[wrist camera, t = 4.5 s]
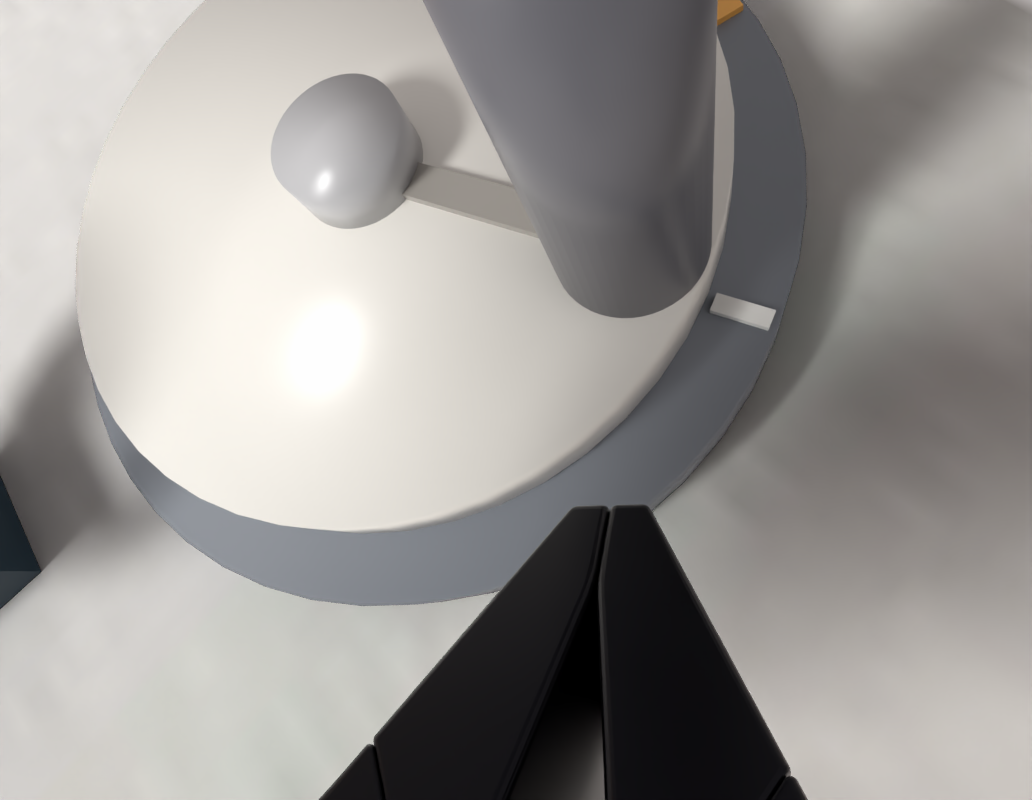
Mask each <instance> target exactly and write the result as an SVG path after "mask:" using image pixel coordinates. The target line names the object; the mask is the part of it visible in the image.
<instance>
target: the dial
mask: <svg viewBox="0 0 1032 800" xmlns="http://www.w3.org/2000/svg"><path fill="white" fill-rule="evenodd" d="M717 4H718V0H205V1H204V2H203V3H202V4H201V5H200V6H199V7H198V8H197V9H196V10H195V11H194V12H193V13H192V14H191V15H190V16H189V17H188V18H187V19H186V20H185V21H184V22H183V24H182V25H181V26H180V27H179V28H178V29H177V30H176V32H175V33H174V34H173V35H172V36H171V37H170V38H169V39H168V41H167V42H166V43H165V44H164V46H163V47H162V48H161V50H160V51H159V52H158V54H157V55H156V56H155V58H154V59H153V60H152V62H151V63H150V64H149V66H148V67H147V68H146V70H145V71H144V72H143V74H142V75H141V77H140V79H139V80H138V82H137V84H136V85H135V87H134V88H133V90H132V92H131V93H130V95H129V97H128V98H127V100H126V102H125V103H124V105H123V106H122V108H121V110H120V113H119V115H118V117H117V119H116V121H115V123H114V125H113V127H112V129H111V131H110V133H109V135H108V137H107V139H106V141H105V144H104V146H103V149H102V151H101V154H100V157H99V159H98V162H97V164H96V167H95V170H94V172H93V175H92V178H91V182H90V186H89V190H88V193H87V197H86V201H85V204H84V208H83V212H82V218H81V224H80V231H79V237H78V243H77V254H76V276H75V289H76V302H77V315H78V323H79V328H80V332H81V337H82V342H83V347H84V351H85V356H86V359H87V361H88V364H89V367H90V369H91V372H92V375H93V378H94V380H95V383H96V386H97V389H98V391H99V393H100V394H101V396H102V398H103V400H104V402H105V403H106V405H107V407H108V409H109V411H110V413H111V414H112V416H113V418H114V420H115V422H116V423H117V424H118V426H119V427H120V428H121V429H122V431H123V432H124V433H125V434H126V436H127V437H128V438H129V440H130V441H131V442H132V443H133V445H134V446H135V447H136V449H137V450H138V451H139V452H140V453H141V454H142V455H143V456H144V457H145V458H147V459H148V460H149V461H150V462H151V463H152V464H153V465H154V466H155V467H156V468H157V469H159V470H160V471H161V472H162V473H163V474H164V475H165V476H166V477H168V478H169V479H171V480H172V481H174V482H175V483H177V484H178V485H180V486H182V487H183V488H185V489H186V490H188V491H189V492H191V493H192V494H194V495H195V496H197V497H199V498H200V499H203V500H205V501H207V502H210V503H212V504H214V505H216V506H219V507H221V508H223V509H226V510H228V511H230V512H233V513H235V514H237V515H241V516H245V517H249V518H253V519H257V520H261V521H265V522H269V523H273V524H277V525H283V526H291V527H300V528H308V529H317V530H327V531H338V532H350V533H361V534H367V533H383V532H400V531H411V530H415V529H420V528H425V527H430V526H435V525H440V524H444V523H449V522H454V521H457V520H460V519H463V518H465V517H468V516H471V515H474V514H477V513H480V512H482V511H485V510H488V509H491V508H494V507H496V506H499V505H501V504H503V503H505V502H507V501H509V500H511V499H513V498H515V497H517V496H519V495H521V494H523V493H525V492H527V491H529V490H531V489H533V488H535V487H537V486H539V485H541V484H543V483H544V482H546V481H547V480H549V479H550V478H552V477H553V476H555V475H556V474H558V473H559V472H561V471H562V470H563V469H565V468H566V467H568V466H569V465H571V464H572V463H574V462H575V461H577V460H578V459H579V458H581V457H582V456H584V455H585V454H587V453H588V452H589V451H590V450H591V449H592V448H593V447H595V446H596V445H597V444H598V443H599V442H600V441H601V440H602V439H603V438H605V437H606V436H607V435H608V434H609V433H610V432H611V431H612V430H614V429H615V428H616V427H617V426H618V425H619V424H620V423H621V422H622V421H624V420H625V419H626V418H627V416H628V415H629V414H630V413H631V412H632V411H633V410H634V408H635V407H636V406H637V405H638V404H639V403H640V401H641V400H642V399H643V398H644V397H645V396H646V394H647V393H648V392H649V391H650V390H651V389H652V387H653V386H654V385H655V384H656V383H657V382H658V381H659V379H660V378H661V376H662V375H663V373H664V372H665V370H666V369H667V367H668V366H669V364H670V363H671V361H672V360H673V358H674V356H675V355H676V353H677V352H678V350H679V349H680V347H681V346H682V344H683V343H684V341H685V340H686V338H687V337H688V334H689V332H690V330H691V328H692V326H693V324H694V322H695V320H696V318H697V316H698V314H699V312H700V309H701V307H702V305H703V303H704V301H705V299H706V297H707V295H708V293H709V290H710V287H711V284H712V281H713V277H714V274H715V271H716V268H717V265H718V262H719V259H720V255H721V252H722V249H723V245H724V239H725V233H726V227H727V221H728V215H729V209H730V203H731V192H732V178H733V164H734V105H733V99H732V92H731V85H730V79H729V72H728V66H727V63H726V60H725V57H724V54H723V51H722V48H721V45H720V42H719V39H718V36H717Z"/></svg>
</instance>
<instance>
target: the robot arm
mask: <svg viewBox="0 0 1032 800" xmlns="http://www.w3.org/2000/svg"><path fill="white" fill-rule="evenodd" d="M319 800H808V799H807V798H806V796H805V794H804V792H803V790H802V788H801V786H800V785H799V783H798V781H797V779H796V778H794V777H792V776H791V771H790V767H789V765H788V763H787V761H786V760H785V758H784V756H783V754H782V752H781V750H780V748H779V747H778V745H777V743H776V741H775V739H774V737H773V735H772V734H771V732H770V730H769V728H768V726H767V724H766V723H765V721H764V719H763V717H762V715H761V713H760V711H759V710H758V708H757V706H756V704H755V702H754V700H753V698H752V697H751V695H750V693H749V691H748V689H747V687H746V685H745V684H744V682H743V680H742V678H741V676H740V674H739V672H738V671H737V669H736V667H735V665H734V663H733V661H732V659H731V658H730V656H729V654H728V652H727V650H726V648H725V646H724V645H723V643H722V641H721V639H720V637H719V635H718V633H717V632H716V630H715V628H714V626H713V624H712V622H711V620H710V619H709V617H708V615H707V613H706V611H705V609H704V607H703V606H702V604H701V602H700V600H699V598H698V596H697V594H696V593H695V591H694V589H693V587H692V585H691V583H690V581H689V580H688V578H687V576H686V574H685V572H684V570H683V568H682V567H681V565H680V563H679V561H678V559H677V557H676V555H675V554H674V552H673V550H672V548H671V546H670V544H669V542H668V541H667V539H666V537H665V535H664V533H663V531H662V529H661V528H660V526H659V524H658V522H657V520H656V518H655V516H654V515H653V513H652V511H651V509H650V508H649V507H648V506H647V505H645V504H629V505H614V506H613V507H612V508H611V509H610V510H609V508H608V507H607V506H605V505H590V506H575V507H573V508H571V509H570V510H569V511H568V512H567V513H566V514H565V516H564V517H563V518H562V519H561V520H560V521H559V522H558V524H557V525H556V526H555V527H554V528H553V529H552V531H551V532H550V533H549V534H548V535H547V536H546V538H545V539H544V540H543V541H542V542H541V543H540V545H539V546H538V547H537V548H536V549H535V550H534V552H533V553H532V554H531V555H530V556H529V557H528V559H527V560H526V561H525V562H524V563H523V564H522V566H521V567H520V568H519V569H518V570H517V571H516V572H515V574H514V575H513V576H512V577H511V578H510V579H509V581H508V582H507V583H506V584H505V585H504V586H503V588H502V589H501V590H500V591H499V592H498V593H497V595H496V596H495V597H494V598H493V599H492V600H491V602H490V603H489V604H488V605H487V606H486V607H485V609H484V610H483V611H482V612H481V613H480V614H479V616H478V617H477V618H476V619H475V620H474V621H473V623H472V624H471V625H470V626H469V627H468V628H467V629H466V631H465V632H464V633H463V634H462V635H461V636H460V638H459V639H458V640H457V641H456V642H455V643H454V645H453V646H452V647H451V648H450V649H449V650H448V652H447V653H446V654H445V655H444V656H443V657H442V659H441V660H440V661H439V662H438V663H437V664H436V666H435V667H434V668H433V669H432V670H431V671H430V673H429V674H428V675H427V676H426V677H425V678H424V679H423V681H422V682H421V683H420V684H419V685H418V686H417V688H416V689H415V690H414V691H413V692H412V693H411V695H410V696H409V697H408V698H407V699H406V700H405V702H404V703H403V704H402V705H401V706H400V707H399V709H398V710H397V711H396V712H395V713H394V714H393V716H392V717H391V718H390V719H389V720H388V721H387V723H386V724H385V725H384V726H383V727H382V728H381V729H380V731H379V732H378V733H377V734H376V735H375V737H374V745H372V744H368V745H366V746H365V748H364V749H363V750H362V751H361V752H360V753H359V755H358V756H357V757H356V758H355V759H354V760H353V762H352V763H351V764H350V765H349V766H348V767H347V769H346V770H345V771H344V772H343V773H342V774H341V775H340V777H339V778H338V779H337V780H336V781H335V782H334V783H333V785H332V786H331V787H330V788H329V789H328V790H327V791H326V792H325V793H324V794H323V796H322V797H321V798H320V799H319Z"/></svg>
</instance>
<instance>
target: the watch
mask: <svg viewBox="0 0 1032 800" xmlns="http://www.w3.org/2000/svg"><path fill="white" fill-rule="evenodd" d="M40 572H41V570H40V568H39V565H38V563H37V561H36V558H35V556H34V554H33V551H32V549H31V547H30V544H29V542H28V540H27V537H26V535H25V533H24V530H23V528H22V526H21V523H20V521H19V519H18V516H17V514H16V512H15V509H14V507H13V505H12V502H11V500H10V498H9V495H8V493H7V491H6V488H5V486H4V484H3V481H2V479H1V477H0V608H2V607H3V606H4V605H5V604H6V603H7V602H8V601H9V600H10V599H11V598H13V597H14V596H15V595H16V594H17V593H18V592H19V591H20V590H21V589H22V588H24V587H25V586H26V585H27V584H28V583H29V582H30V581H31V580H32V579H33V578H35V577H36V576H37V575H38V574H39V573H40Z"/></svg>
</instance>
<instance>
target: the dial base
mask: <svg viewBox="0 0 1032 800" xmlns="http://www.w3.org/2000/svg"><path fill="white" fill-rule="evenodd" d="M717 36H718V39H719V42H720V45H721V48H722V51H723V54H724V57H725V60H726V63H727V66H728V72H729V79H730V85H731V92H732V99H733V105H734V164H733V178H732V192H731V203H730V209H729V215H728V221H727V227H726V233H725V239H724V245H723V249H722V252H721V255H720V259H719V262H718V265H717V268H716V271H715V274H714V277H713V281H712V284H711V287H710V290H709V293H708V295H707V297H706V299H705V301H704V303H703V305H702V307H701V309H700V312H699V314H698V316H697V318H696V320H695V322H694V324H693V326H692V328H691V330H690V332H689V334H688V337H687V338H686V340H685V341H684V343H683V344H682V346H681V347H680V349H679V350H678V352H677V353H676V355H675V356H674V358H673V360H672V361H671V363H670V364H669V366H668V367H667V369H666V370H665V372H664V373H663V375H662V376H661V378H660V379H659V381H658V382H657V383H656V384H655V385H654V386H653V387H652V389H651V390H650V391H649V392H648V393H647V394H646V396H645V397H644V398H643V399H642V400H641V401H640V403H639V404H638V405H637V406H636V407H635V408H634V410H633V411H632V412H631V413H630V414H629V415H628V416H627V418H626V419H625V420H624V421H622V422H621V423H620V424H619V425H618V426H617V427H616V428H615V429H614V430H612V431H611V432H610V433H609V434H608V435H607V436H606V437H605V438H603V439H602V440H601V441H600V442H599V443H598V444H597V445H596V446H595V447H593V448H592V449H591V450H590V451H589V452H588V453H587V454H585V455H584V456H582V457H581V458H579V459H578V460H577V461H575V462H574V463H572V464H571V465H569V466H568V467H566V468H565V469H563V470H562V471H561V472H559V473H558V474H556V475H555V476H553V477H552V478H550V479H549V480H547V481H546V482H544V483H543V484H541V485H539V486H537V487H535V488H533V489H531V490H529V491H527V492H525V493H523V494H521V495H519V496H517V497H515V498H513V499H511V500H509V501H507V502H505V503H503V504H501V505H499V506H496V507H494V508H491V509H488V510H485V511H482V512H480V513H477V514H474V515H471V516H468V517H465V518H463V519H460V520H457V521H454V522H449V523H444V524H440V525H435V526H430V527H425V528H420V529H415V530H411V531H400V532H383V533H367V534H361V533H350V532H338V531H327V530H317V529H308V528H300V527H291V526H283V525H277V524H273V523H269V522H265V521H261V520H257V519H253V518H249V517H245V516H241V515H237V514H235V513H233V512H230V511H228V510H226V509H223V508H221V507H219V506H216V505H214V504H212V503H210V502H207V501H205V500H203V499H200V498H199V497H197V496H195V495H194V494H192V493H191V492H189V491H188V490H186V489H185V488H183V487H182V486H180V485H178V484H177V483H175V482H174V481H172V480H171V479H169V478H168V477H166V476H165V475H164V474H163V473H162V472H161V471H160V470H159V469H157V468H156V467H155V466H154V465H153V464H152V463H151V462H150V461H149V460H148V459H147V458H145V457H144V456H143V455H142V454H141V453H140V452H139V451H138V450H137V449H136V447H135V446H134V445H133V443H132V442H131V441H130V440H129V438H128V437H127V436H126V434H125V433H124V432H123V431H122V429H121V428H120V427H119V426H118V424H117V423H116V422H115V420H114V418H113V416H112V414H111V413H110V411H109V409H108V407H107V405H106V403H105V402H104V400H103V398H102V396H101V394H100V393H99V391H98V389H97V386H96V383H95V380H94V378H93V375H92V372H91V375H92V380H93V385H94V389H95V394H96V399H97V403H98V407H99V410H100V413H101V415H102V418H103V421H104V424H105V426H106V429H107V432H108V435H109V437H110V440H111V443H112V445H113V447H114V449H115V451H116V452H117V454H118V456H119V458H120V460H121V462H122V464H123V465H124V467H125V469H126V471H127V473H128V475H129V477H130V478H131V480H132V481H133V483H134V484H135V485H136V487H137V488H138V489H139V491H140V492H141V493H142V495H143V496H144V497H145V498H146V500H147V501H148V502H149V504H150V505H151V506H152V508H153V509H154V510H155V512H156V513H157V514H158V515H159V516H160V517H161V518H162V519H163V520H164V521H166V522H167V523H168V524H169V525H170V526H171V527H172V528H173V529H174V530H175V531H176V532H177V533H178V534H179V535H180V536H181V537H182V538H183V539H184V540H185V541H186V542H188V543H189V544H191V545H192V546H194V547H195V548H196V549H198V550H199V551H201V552H202V553H204V554H205V555H207V556H208V557H210V558H211V559H212V560H214V561H215V562H217V563H218V564H220V565H221V566H223V567H225V568H227V569H229V570H231V571H233V572H235V573H237V574H239V575H242V576H244V577H246V578H248V579H250V580H252V581H254V582H256V583H259V584H261V585H263V586H265V587H268V588H272V589H275V590H279V591H282V592H286V593H289V594H293V595H296V596H300V597H303V598H307V599H310V600H317V601H325V602H334V603H342V604H350V605H358V606H377V605H410V604H424V603H434V602H443V601H449V600H455V599H460V598H466V597H471V596H477V595H482V594H488V593H494V592H497V591H500V590H501V589H502V588H503V586H504V585H505V584H506V583H507V582H508V581H509V579H510V578H511V577H512V576H513V575H514V574H515V572H516V571H517V570H518V569H519V568H520V567H521V566H522V564H523V563H524V562H525V561H526V560H527V559H528V557H529V556H530V555H531V554H532V553H533V552H534V550H535V549H536V548H537V547H538V546H539V545H540V543H541V542H542V541H543V540H544V539H545V538H546V536H547V535H548V534H549V533H550V532H551V531H552V529H553V528H554V527H555V526H556V525H557V524H558V522H559V521H560V520H561V519H562V518H563V517H564V516H565V514H566V513H567V512H568V511H569V510H570V509H571V508H573V507H575V506H590V505H605V506H607V507H608V508H609V510H610V509H611V508H612V507H613V506H614V505H629V504H645V505H647V506H648V507H649V508H650V509H651V511H652V510H653V509H654V508H655V507H656V506H657V505H659V504H660V503H661V502H662V501H663V500H664V499H665V498H666V497H668V496H669V495H670V494H671V493H672V492H673V491H674V490H675V489H677V488H678V487H679V486H680V485H681V484H682V483H683V482H684V481H685V480H686V479H687V478H688V477H689V476H690V474H691V473H692V472H693V471H694V470H695V469H696V467H697V466H698V465H699V464H700V463H701V462H702V460H703V459H704V458H705V457H706V456H707V455H708V453H709V452H710V451H711V450H712V449H713V448H714V446H715V445H716V444H717V443H718V442H719V441H720V439H721V438H722V437H723V435H724V434H725V432H726V430H727V429H728V427H729V426H730V424H731V423H732V421H733V420H734V418H735V416H736V415H737V413H738V412H739V410H740V409H741V407H742V406H743V404H744V403H745V401H746V399H747V398H748V396H749V395H750V393H751V392H752V390H753V387H754V385H755V383H756V381H757V379H758V377H759V374H760V372H761V370H762V368H763V366H764V364H765V362H766V359H767V357H768V355H769V353H770V351H771V349H772V346H773V344H774V342H775V339H776V336H777V332H778V329H779V326H780V322H781V319H782V316H783V312H784V309H785V306H786V302H787V299H788V296H789V292H790V289H791V286H792V282H793V279H794V276H795V272H796V269H797V266H798V262H799V256H800V249H801V242H802V235H803V228H804V221H805V214H806V206H807V205H806V153H805V147H804V142H803V136H802V131H801V125H800V120H799V114H798V109H797V104H796V101H795V98H794V95H793V92H792V90H791V87H790V84H789V81H788V79H787V76H786V73H785V70H784V68H783V65H782V62H781V59H780V57H779V56H778V54H777V52H776V50H775V49H774V47H773V45H772V43H771V42H770V40H769V38H768V36H767V34H766V33H765V31H764V29H763V27H762V26H761V24H760V22H759V20H758V19H757V18H756V16H755V15H754V14H753V13H752V11H751V10H750V9H749V8H748V7H747V5H746V4H745V3H744V2H743V0H718V4H717ZM90 371H91V369H90Z"/></svg>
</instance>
